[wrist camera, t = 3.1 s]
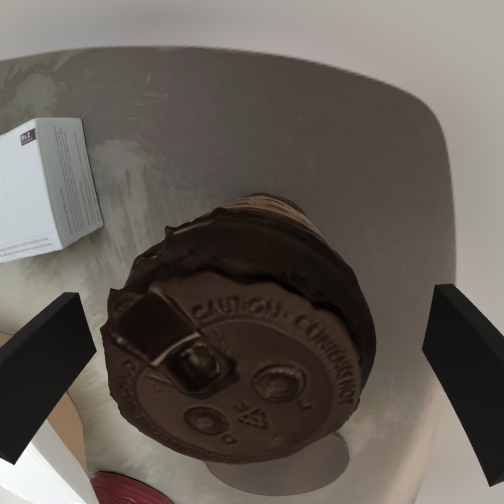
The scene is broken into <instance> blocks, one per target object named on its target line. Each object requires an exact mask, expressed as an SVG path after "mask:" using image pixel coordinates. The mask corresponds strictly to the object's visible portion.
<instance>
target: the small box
mask: <svg viewBox="0 0 504 504" xmlns="http://www.w3.org/2000/svg"><path fill="white" fill-rule="evenodd" d="M102 226H103V221H102V217H101V213H100V209H99V205H98V201H97V197H96V193H95V188H94V184H93V179H92V175H91V170H90V165H89V160H88V155H87V150H86V145H85V139H84V133H83V127H82V122H81V119H80V118H34V119H32V120H30V121H28V122H26V123H24V124H22V125H20V126H19V127H17V128H15V129H13V130H12V131H10V132H8V133H6V134H4V135H0V264H1V263H5V262H10V261H14V260H19V259H23V258H28V257H32V256H36V255H41V254H45V253H50V252H54V251H58V250H62V249H64V248H66V247H67V246H69V245H70V244H72V243H74V242H76V241H77V240H79V239H81V238H83V237H85V236H86V235H88V234H90V233H92V232H93V231H95V230H97V229H99V228H101V227H102Z"/></svg>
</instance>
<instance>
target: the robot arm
mask: <svg viewBox="0 0 504 504" xmlns="http://www.w3.org/2000/svg"><path fill="white" fill-rule="evenodd" d="M422 351H423V353H424V354H425V356H426V358H427V360H428V362H429V363H430V365H431V367H432V369H433V370H434V372H435V374H436V376H437V378H438V380H439V381H440V383H441V385H442V387H443V389H444V391H445V393H446V394H447V396H448V398H449V400H450V402H451V404H452V406H453V408H454V410H455V412H456V414H457V416H458V418H459V420H460V422H461V424H462V426H463V428H464V430H465V432H466V434H467V437H468V439H469V441H470V443H471V445H472V447H473V449H474V452H475V454H476V456H477V458H478V460H479V463H480V465H481V467H482V469H483V472H484V474H485V476H486V479H487V481H488V484H489V486H490V487H491V486H494V485H496V484H498V483H500V482H503V481H504V336H503V335H502V334H501V333H500V332H499V331H498V330H497V329H496V328H495V327H494V325H493V324H492V323H491V322H490V321H489V320H488V319H487V318H486V317H485V316H484V315H483V314H482V313H481V312H480V311H479V310H478V309H477V307H476V306H475V305H473V303H472V302H471V301H470V300H468V298H467V297H465V295H464V294H463V293H462V292H461V291H459V289H457V288H456V287H455V286H454V285H453V284H441V285H435V287H434V293H433V299H432V304H431V309H430V315H429V319H428V324H427V329H426V333H425V338H424V342H423V346H422ZM96 352H97V350H96V347H95V345H94V342H93V339H92V336H91V333H90V330H89V326H88V323H87V320H86V317H85V313H84V310H83V307H82V303H81V300H80V296H79V293H72V292H64V293H63V294H61V295H60V296H59V297H58V298H57V299H55V300H54V301H53V302H52V303H51V304H49V305H48V306H47V307H46V308H45V309H43V310H42V311H41V312H40V313H39V314H38V315H36V316H35V317H34V318H33V319H32V320H31V321H29V322H28V323H27V324H26V325H25V326H24V327H23V328H21V329H20V330H19V331H18V332H17V333H16V334H15V335H14V336H12V337H11V338H10V339H9V340H8V341H7V342H6V343H5V344H4V345H2V346H1V347H0V458H1V459H3V460H5V461H7V462H9V463H11V464H12V465H15V464H16V462H17V461H18V459H19V458H20V456H21V455H22V453H23V452H24V450H25V449H26V447H27V446H28V444H29V443H30V441H31V440H32V439H33V437H34V436H35V434H36V433H37V431H38V430H39V429H40V427H41V426H42V424H43V423H44V421H45V420H46V419H47V417H48V416H49V414H50V413H51V412H52V410H53V409H54V408H55V406H56V405H57V403H58V402H59V401H60V399H61V398H62V397H63V395H64V394H65V392H66V391H67V390H68V388H69V387H70V386H71V384H72V383H73V382H74V380H75V379H76V378H77V376H78V375H79V374H80V372H81V371H82V370H83V369H84V367H85V366H86V365H87V363H88V362H89V361H90V359H91V358H92V357H93V356H94V354H95V353H96Z"/></svg>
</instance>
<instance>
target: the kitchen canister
mask: <svg viewBox="0 0 504 504" xmlns="http://www.w3.org/2000/svg"><path fill="white" fill-rule="evenodd" d="M90 483H91V485H92V488H93V490H94V492H95V495H96V497H97V499H98V502H99V504H173V503H172V502H171V501H170V500H169V499H168V498H167V497H166V496H164V495H163V494H161V493H160V492H158V491H156V490H155V489H153V488H151V487H149V486H147V485H145V484H143V483H140V482H138V481H136V480H133V479H130V478H128V477H125V476H121V475H118V474H113V473H107V472H99V473H96V474H94V475H93V477H92V478H91V479H90Z"/></svg>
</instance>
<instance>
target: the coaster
mask: <svg viewBox="0 0 504 504" xmlns="http://www.w3.org/2000/svg"><path fill="white" fill-rule="evenodd" d="M348 462H349V452H348V447H347V444H346V442H345V441H344V439H343V438H342V437H341V436H340V435H339V434H338V433H337V432H335V431H334V432H332V433H331V434H329V435H328V436H326V437H324V438H322V439H320V440H318V441H316V442H314V443H312V444H310V445H309V446H307V447H305V448H304V449H302V450H301V451H300V452H297V453H295V454H294V455H292V456H290V457H286V458H281V459H276V460H271V461H267V462H260V463H250V464H243V465H229V464H224V463H215V462H209V461H205V464H206V466H207V468H208V469H209V471H210V472H211V473H212V474H213V475H214V476H215V477H216V478H218V479H219V480H220V481H222V482H223V483H225V484H227V485H229V486H231V487H233V488H236V489H238V490H241V491H245V492H248V493H253V494H258V495H266V496H289V495H297V494H302V493H307V492H311V491H314V490H317V489H319V488H322V487H324V486H326V485H328V484H330V483H331V482H333V481H334V480H336V479H337V478H338V477H339V476H340V475H341V474H342V473H343V472H344V470H345V469H346V467H347V465H348Z"/></svg>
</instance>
